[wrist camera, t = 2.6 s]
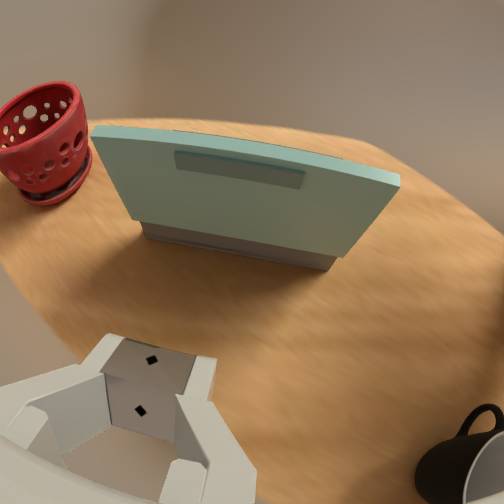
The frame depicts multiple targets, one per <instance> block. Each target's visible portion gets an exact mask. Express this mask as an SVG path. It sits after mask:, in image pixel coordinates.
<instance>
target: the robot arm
mask: <svg viewBox="0 0 504 504" xmlns="http://www.w3.org/2000/svg"><path fill="white" fill-rule="evenodd" d="M216 368H217V358H211V357H205V356H199V355H198V356H196V355H191V354H186V353H182V352H177V351H173V350H169V349H164V348H161V347H158V346H154V345H150V344H147V343H143V342H140V341H136V340H133V339H129V338H125V337H122V336H118V335H115V334H112V333H108V334H106V335H105V336H104V337H103V338H102V339H101V340H100V341H99V343H98V344H97V345H96V346H95V347H94V349H93V350H92V351H91V352H90V353H89V355H88V356H87V357H86V358H85V360H84V361H83V362H82V363H81V364H80V365H78V364H72V365H69V366H66V367H63V368H60V369H57V370H54V371H51V372H48V373H44V374H41V375H38V376H35V377H32V378H28V379H25V380H22V381H18V382H15V383H11V384H8V385H5V386H1V387H0V504H255V493H256V479H257V471H256V469H255V468H254V466H253V465H252V463H251V462H250V460H249V459H248V457H247V456H246V454H245V453H244V451H243V450H242V448H241V447H240V445H239V444H238V442H237V440H236V439H235V437H234V436H233V434H232V433H231V431H230V430H229V428H228V426H227V425H226V423H225V421H224V420H223V418H222V417H221V415H220V413H219V412H218V410H217V408H216V407H215V405H214V403H213V402H211V400H212V395H213V388H214V381H215V375H216ZM111 425H114V426H117V427H120V428H123V429H127V430H130V431H134V432H137V433H141V434H144V435H148V436H151V437H154V438H158V439H161V440H164V441H168V442H172V443H174V446H175V448H176V451H177V454H178V456H179V459H177V460H174V461H172V462H171V465H170V468H169V471H168V474H167V477H166V480H165V483H164V486H163V489H162V492H161V495H160V498H159V502H155V501H151V500H148V499H144V498H141V497H138V496H134V495H131V494H128V493H125V492H122V491H119V490H116V489H113V488H110V487H108V486H105V485H102V484H100V483H97V482H95V481H92V480H89V479H87V478H84V477H82V476H80V475H77V474H75V473H73V472H70V471H69V469H68V467H67V465H66V463H65V460H64V458H63V455H65V454H67V453H68V452H70V451H71V450H73V449H75V448H77V447H79V446H80V445H82V444H84V443H85V442H87V441H89V440H91V439H92V438H94V437H96V436H97V435H99V434H100V433H102V432H104V431H105V430H107V429H109V428H110V427H112V426H111ZM464 504H504V491H502V492H499V493H496V494H494V495H491V496H488V497H484V498H481V499H478V500H475V501H471V502H468V503H464Z"/></svg>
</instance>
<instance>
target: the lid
mask: <svg viewBox="0 0 504 504" xmlns="http://www.w3.org/2000/svg"><path fill="white" fill-rule="evenodd" d="M90 137H91V140H92V142H93V144H94V146H95V148H96V150H97V152H98V154H99V156H100V158H101V160H102V162H103V164H104V166H105V168H106V170H107V172H108V174H109V176H110V178H111V180H112V182H113V184H114V186H115V188H116V190H117V192H118V194H119V196H120V198H121V199H122V201H123V203H124V205H125V207H126V209H127V211H128V213H129V214H130V216H131V218H132V220H136V221H141V222H147V223H153V224H159V225H164V226H170V227H176V228H182V229H187V230H193V231H199V232H204V233H210V234H215V235H221V236H227V237H232V238H238V239H243V240H249V241H254V242H260V243H265V244H271V245H276V246H282V247H287V248H293V249H298V250H303V251H309V252H314V253H320V254H325V255H330V256H336V257H341V258H343V257H344V256H345V255H346V254H347V253H348V251H349V250H350V249H351V248H352V247H353V246H354V244H355V243H356V242H357V241H358V240H359V238H360V237H361V236H362V235H363V233H364V232H365V231H366V230H367V229H368V227H369V226H370V225H371V224H372V223H373V221H374V220H375V219H376V218H377V216H378V215H379V214H380V213H381V211H382V210H383V209H384V208H385V206H386V205H387V204H388V203H389V201H390V200H391V199H392V197H393V196H394V195H395V194H396V192H397V191H398V190H399V188H400V187H401V185H400V175H399V174H397V173H393V172H390V171H386V170H383V169H379V168H375V167H371V166H367V165H363V164H359V163H355V162H351V161H347V160H343V159H339V158H334V157H330V156H326V155H321V154H316V153H312V152H307V151H302V150H297V149H292V148H287V147H282V146H276V145H271V144H265V143H259V142H253V141H247V140H241V139H234V138H227V137H220V136H213V135H205V134H197V133H189V132H180V131H170V130H160V129H149V128H136V127H121V126H102V125H96V126H95V128H94V130H93V132H92V133H91V135H90Z"/></svg>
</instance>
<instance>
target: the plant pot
mask: <svg viewBox="0 0 504 504" xmlns="http://www.w3.org/2000/svg"><path fill="white" fill-rule="evenodd" d="M71 99H72V100H71ZM60 101H64V102H65V103H66V105H67V106H66V107H64V106H62V105H61V104H60ZM45 103H49V104H50V107H49V108H46V107H45V106H44V104H45ZM30 105H32V106H35V107H36V109H37V113H36V115H35V116H34V117H32V118H25V117H24V116H23V111H24V109H25V108H26V107H27V106H30ZM55 113H59V115H60V117H59V118H56V117H55V116H54V114H55ZM43 114H46V115H48V120H47V121H44V122H43V121H41V120H40V116H41V115H43ZM15 116H19V120H18V121H17V122H14V117H15ZM22 125H25V127H26V130H25V132H24V133H23V134H20V133H19V128H20V126H22ZM5 126H8V133H7V134H6V135H5V134H4V133H3V129H4V127H5ZM12 135H13V136H14V140H13V142H11V141H10V137H11V136H12ZM2 145H5V146H6V147H7V148H1V147H2ZM91 164H92V152H91V149H90V147H89V146H88V126H87V118H86V113H85V108H84V104H83V101H82V97H81V94H80V92H79V89H78V88H77V87H76V86H75V85H74V84H72V83H69V82H65V81H54V82H48V83H44V84H40V85H37V86H35V87H32V88H30V89H28V90H26V91H24V92H22V93H21V94H19V95H17V96H16V97H14V98H13V99H12V100H10V101H9V102H8V103H7V104H5V105H4V106H3V107H2V108H1V109H0V171H1V172H2V173H3V174H4V175H5V176H6V177H7V178H8V179H9V180H10V182H12V183H13V184H14V185H16V186H17V187H18V191H19V194H20V196H21V197H22V198H23V199H24V200H25V201H26V202H28V203H30V204H33V205H38V206H44V205H51V204H54V203H57V202H59V201H61V200H63V199H65V198H66V197H68V196H69V195H71V194H72V193H73V192H74V191H75V190H76V189H78V187H79V186H80V185H81V184H82V183H83V181H84V180H85V178H86V177H87V175H88V173H89V171H90V168H91Z"/></svg>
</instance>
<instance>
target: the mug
mask: <svg viewBox="0 0 504 504" xmlns="http://www.w3.org/2000/svg"><path fill="white" fill-rule="evenodd" d="M488 410H491V411H492V412H493V413H494V415H495V418H496V424H495V427H494V428H493V429H492V430H491V431H489V432H484V433H478V434H472V435H467V434H468V431H469V428H470V427H471V425H472V423H473V422H474V420H475V419H476V418H477V417H478V416H479V415H480V414H481V413H483V412H485V411H488ZM415 484H416V488H417V491H418V493H419V494H420V495H421V497H422V498H423V499H424V500H425V501H427V502H428V503H429V504H464V503H468V502H471V501H475V500H478V499H481V498H484V497H488V496H491V495H494V494H496V493H499V492H502V491H504V415H503V412H502V411H501V409H500V408H499V407H498V406H496V405H494V404H483V405H481V406H479V407H477V408H476V409H474V410H473V411H472V412H471V413H470V414H469V415H468V417H467V418H466V419H465V421H464V423H463V424H462V426H461V428H460V430H459V432H458V434H457V435H456V436H455V437H454V438H453V439H450V440H447V441H444V442H442V443H439V444H437V445H436V446H434V447H433V448H431V449H430V450H429V451H428V452H427V453H426V454H425V455H424V456H423V458H422V459H421V461H420V463H419V465H418V467H417V470H416V474H415Z"/></svg>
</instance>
